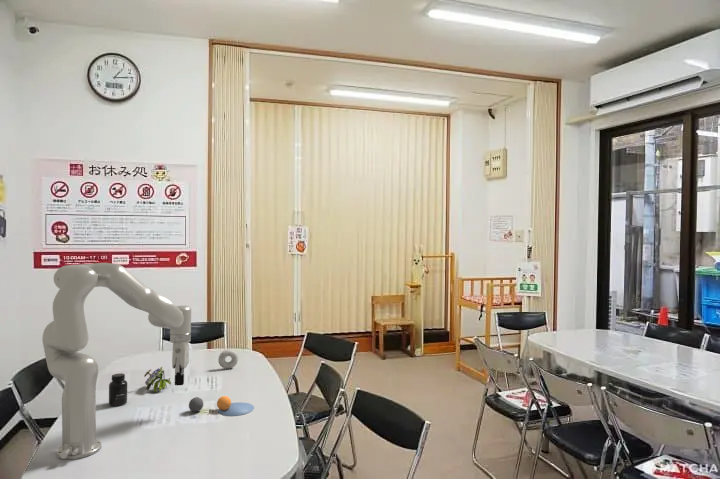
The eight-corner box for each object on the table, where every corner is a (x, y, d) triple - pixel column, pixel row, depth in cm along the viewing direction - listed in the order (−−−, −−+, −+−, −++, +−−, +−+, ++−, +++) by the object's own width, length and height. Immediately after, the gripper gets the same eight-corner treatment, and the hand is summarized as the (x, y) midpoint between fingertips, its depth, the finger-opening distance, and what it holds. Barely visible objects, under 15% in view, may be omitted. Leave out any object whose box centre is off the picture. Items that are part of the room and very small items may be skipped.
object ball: (214, 410, 191) (227, 414, 192) (219, 397, 191) (232, 401, 192) (215, 405, 196) (228, 409, 197) (220, 392, 196) (233, 396, 197)
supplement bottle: (119, 407, 196) (119, 378, 196) (105, 406, 198) (104, 376, 197) (131, 401, 203) (130, 373, 203) (116, 400, 204) (116, 371, 204)
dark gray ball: (186, 403, 189) (191, 416, 189) (199, 397, 190) (205, 409, 191) (187, 399, 194) (192, 411, 195) (200, 393, 196) (205, 405, 196)
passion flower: (148, 401, 219) (144, 376, 224) (174, 393, 223) (169, 369, 228) (145, 394, 210) (141, 368, 215) (172, 386, 214) (167, 360, 219)
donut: (218, 370, 247) (218, 351, 247) (218, 368, 250) (217, 349, 250) (238, 368, 251) (238, 349, 251) (237, 366, 254) (237, 347, 254)
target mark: (253, 414, 190) (253, 414, 190) (216, 417, 187) (216, 416, 187) (254, 401, 203) (254, 401, 203) (219, 404, 201) (219, 403, 201)
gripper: (187, 341, 183) (186, 390, 183) (193, 333, 198) (192, 379, 198) (166, 341, 182) (165, 390, 182) (173, 334, 197) (172, 379, 197)
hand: (179, 384), depth 190 cm, fingers closed
